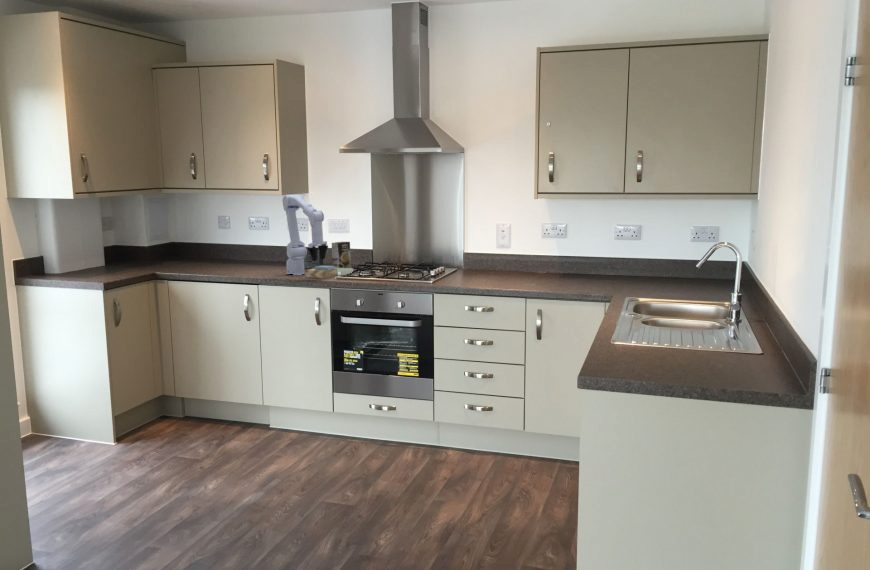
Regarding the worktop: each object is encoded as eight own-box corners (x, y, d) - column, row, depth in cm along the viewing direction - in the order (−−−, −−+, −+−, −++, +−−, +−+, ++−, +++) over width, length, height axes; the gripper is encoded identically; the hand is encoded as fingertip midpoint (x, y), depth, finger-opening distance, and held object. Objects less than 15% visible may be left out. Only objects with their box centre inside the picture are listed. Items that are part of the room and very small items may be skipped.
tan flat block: (306, 277, 391) (305, 270, 391) (318, 274, 401) (318, 267, 400) (325, 278, 385) (325, 271, 384) (337, 275, 395) (337, 268, 394)
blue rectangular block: (314, 269, 391) (314, 266, 391) (321, 268, 396) (321, 265, 396) (327, 270, 387) (327, 267, 386) (334, 268, 392) (334, 266, 392)
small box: (324, 267, 429) (323, 250, 427) (320, 269, 422) (319, 251, 421) (307, 267, 431) (306, 250, 429) (303, 269, 424) (302, 251, 423)
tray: (321, 274, 400) (321, 270, 399) (333, 271, 409) (333, 267, 409) (342, 275, 393) (342, 271, 393) (353, 273, 403) (353, 268, 402)
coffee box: (340, 271, 410) (339, 243, 407) (332, 270, 414) (330, 242, 411) (351, 269, 417) (350, 241, 415) (343, 268, 421) (342, 241, 419)
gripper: (315, 235, 374) (317, 261, 376) (331, 233, 387) (332, 258, 389) (304, 235, 377) (305, 261, 379) (320, 233, 390) (321, 258, 392)
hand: (318, 260), depth 384 cm, fingers open, 7 cm apart
